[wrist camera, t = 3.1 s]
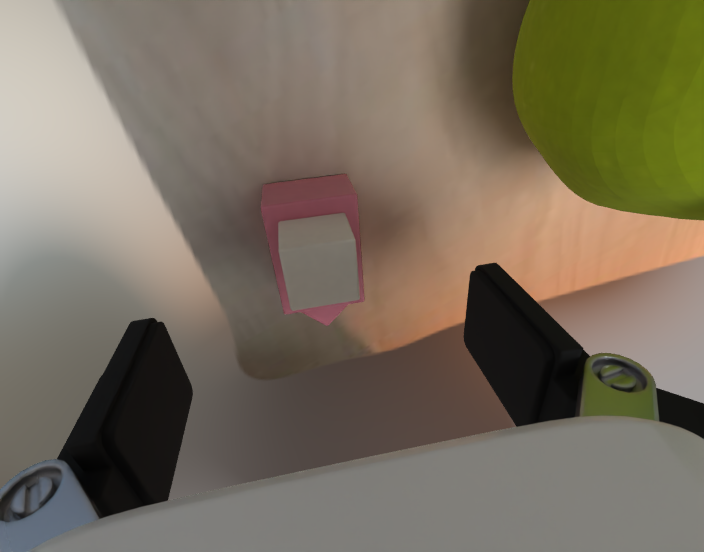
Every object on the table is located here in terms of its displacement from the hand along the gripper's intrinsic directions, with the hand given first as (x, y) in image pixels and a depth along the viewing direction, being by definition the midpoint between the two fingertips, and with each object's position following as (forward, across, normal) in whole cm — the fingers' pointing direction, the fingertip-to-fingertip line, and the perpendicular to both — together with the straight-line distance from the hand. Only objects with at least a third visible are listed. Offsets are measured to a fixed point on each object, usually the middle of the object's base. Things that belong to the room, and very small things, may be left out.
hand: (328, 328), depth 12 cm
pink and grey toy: (+6, 0, 0) cm, 6 cm away
